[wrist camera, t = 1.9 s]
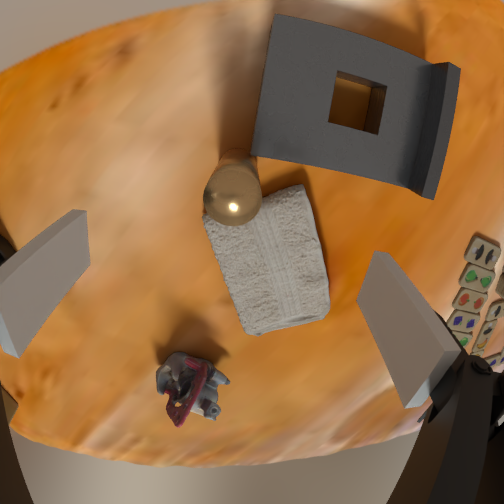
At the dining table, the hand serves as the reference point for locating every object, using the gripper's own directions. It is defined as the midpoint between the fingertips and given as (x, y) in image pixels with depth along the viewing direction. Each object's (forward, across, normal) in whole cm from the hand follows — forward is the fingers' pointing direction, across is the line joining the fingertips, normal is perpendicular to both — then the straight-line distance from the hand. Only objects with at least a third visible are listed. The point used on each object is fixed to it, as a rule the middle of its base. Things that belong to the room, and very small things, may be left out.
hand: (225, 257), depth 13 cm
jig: (+20, -10, -9) cm, 24 cm away
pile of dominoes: (+21, -50, +16) cm, 56 cm away
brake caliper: (+21, +3, +31) cm, 38 cm away
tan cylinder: (+20, 0, 0) cm, 20 cm away
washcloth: (+21, -6, +11) cm, 25 cm away
